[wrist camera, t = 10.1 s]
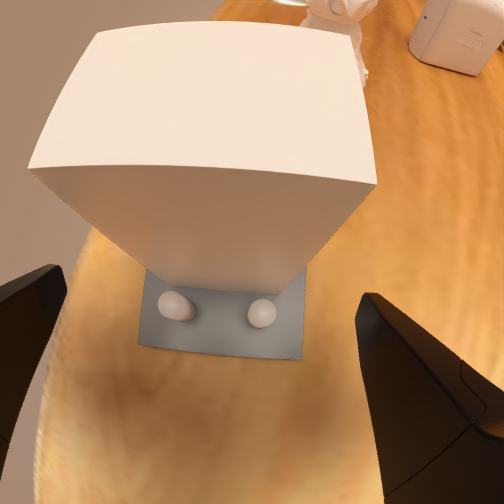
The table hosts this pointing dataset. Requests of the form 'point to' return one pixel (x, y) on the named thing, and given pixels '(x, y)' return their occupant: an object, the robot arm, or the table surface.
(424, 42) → the photo printer
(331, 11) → the white creature statuette
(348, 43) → the block
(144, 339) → the grey peg board
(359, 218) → the table surface
